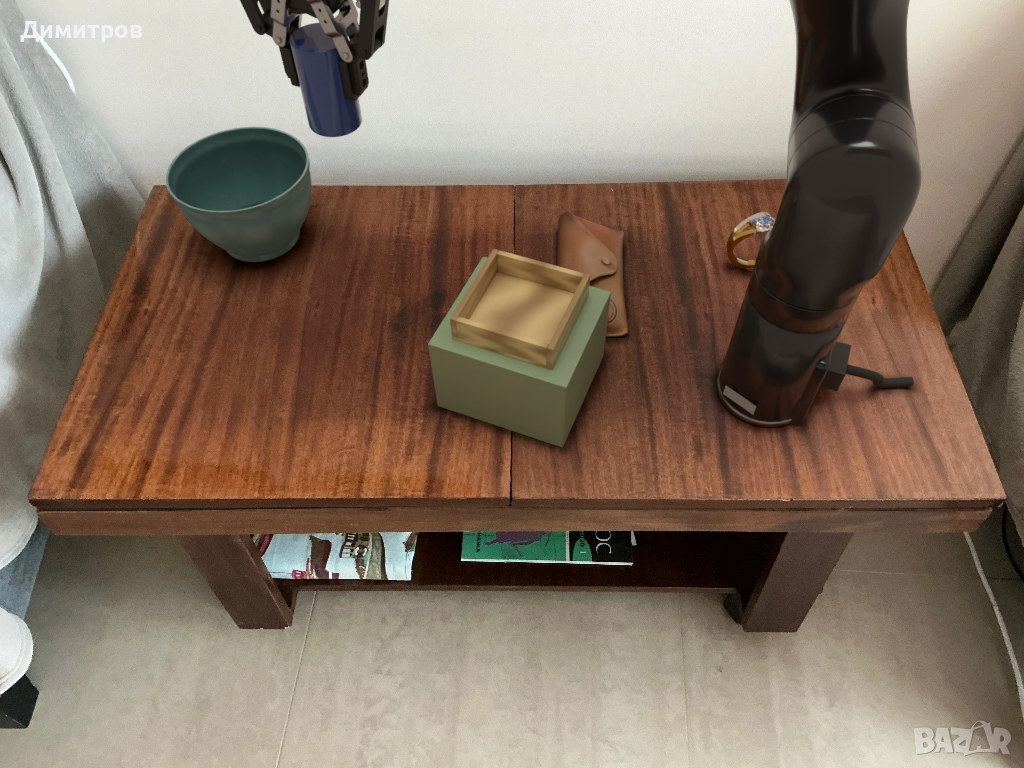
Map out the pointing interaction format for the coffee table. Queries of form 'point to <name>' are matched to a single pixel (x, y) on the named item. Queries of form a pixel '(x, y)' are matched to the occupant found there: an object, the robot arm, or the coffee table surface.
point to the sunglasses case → (595, 262)
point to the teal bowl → (244, 190)
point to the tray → (521, 308)
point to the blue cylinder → (323, 83)
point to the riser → (521, 375)
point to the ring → (761, 223)
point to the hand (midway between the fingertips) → (329, 87)
